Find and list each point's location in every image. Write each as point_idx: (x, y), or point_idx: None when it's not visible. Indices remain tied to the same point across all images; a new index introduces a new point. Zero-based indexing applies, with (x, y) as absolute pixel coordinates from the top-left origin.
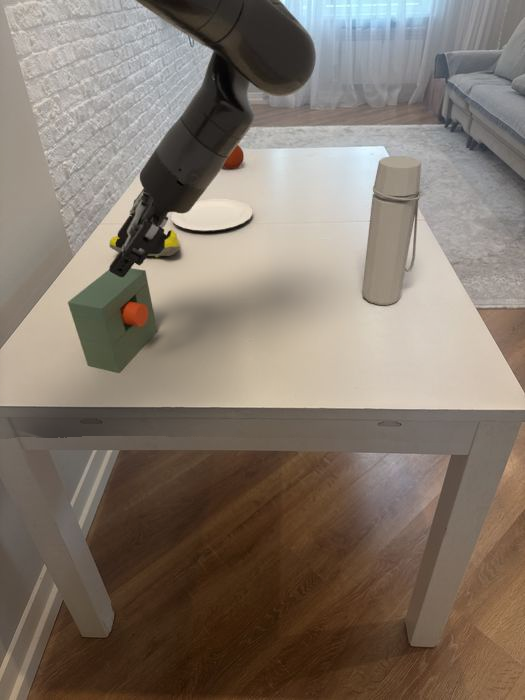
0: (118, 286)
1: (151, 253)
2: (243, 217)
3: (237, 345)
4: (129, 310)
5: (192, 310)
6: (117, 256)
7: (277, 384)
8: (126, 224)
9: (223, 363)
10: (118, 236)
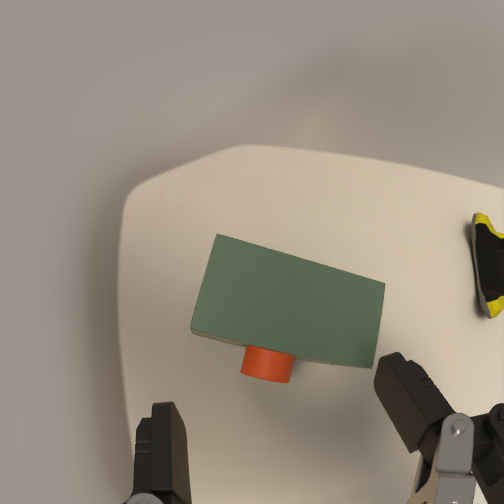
0: (296, 333)
1: (479, 276)
2: None
3: (278, 491)
4: (257, 359)
5: (368, 397)
6: (154, 458)
7: None
8: (411, 403)
9: (230, 483)
10: (381, 359)
